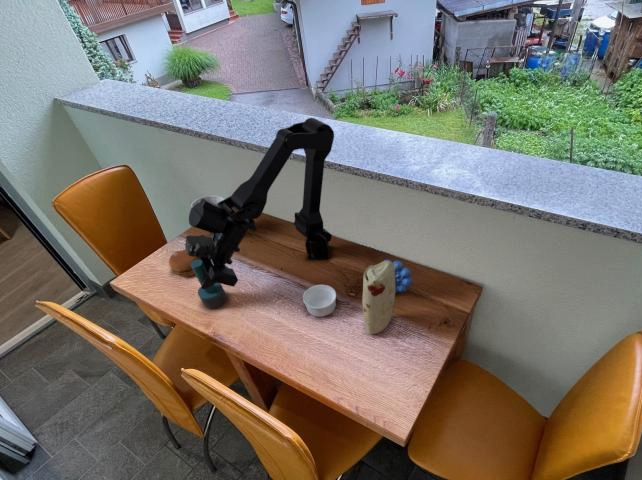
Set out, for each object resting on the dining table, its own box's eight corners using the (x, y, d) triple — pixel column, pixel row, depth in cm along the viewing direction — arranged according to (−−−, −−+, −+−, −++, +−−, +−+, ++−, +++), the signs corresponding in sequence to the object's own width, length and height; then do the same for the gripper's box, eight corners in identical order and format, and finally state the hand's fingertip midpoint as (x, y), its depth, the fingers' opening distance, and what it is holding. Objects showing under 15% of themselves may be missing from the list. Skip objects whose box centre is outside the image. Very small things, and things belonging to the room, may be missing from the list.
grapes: (417, 290, 99) (421, 257, 90) (406, 305, 95) (409, 273, 86) (382, 276, 103) (382, 244, 94) (370, 290, 99) (369, 258, 91)
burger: (198, 277, 104) (192, 266, 101) (168, 277, 104) (160, 266, 101) (209, 256, 111) (203, 245, 107) (180, 257, 111) (174, 245, 108)
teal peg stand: (231, 295, 99) (214, 257, 89) (219, 311, 95) (200, 273, 85) (212, 291, 100) (193, 253, 90) (199, 307, 96) (177, 269, 86)
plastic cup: (243, 229, 121) (232, 199, 112) (219, 246, 114) (206, 215, 106) (222, 220, 125) (210, 190, 116) (197, 236, 119) (183, 205, 110)
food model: (377, 343, 87) (377, 286, 72) (357, 330, 89) (353, 273, 75) (399, 319, 92) (404, 262, 77) (379, 308, 95) (380, 250, 80)
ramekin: (323, 290, 100) (322, 279, 96) (344, 306, 95) (343, 295, 92) (299, 306, 95) (296, 295, 92) (319, 324, 91) (317, 313, 88)
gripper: (189, 207, 87) (163, 256, 91) (207, 246, 76) (176, 300, 80) (230, 224, 95) (204, 268, 100) (251, 261, 84) (221, 309, 89)
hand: (201, 284), depth 92 cm, fingers closed on teal peg stand, 3 cm apart
